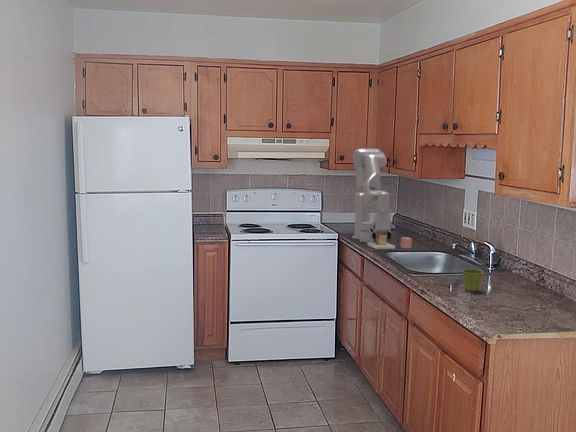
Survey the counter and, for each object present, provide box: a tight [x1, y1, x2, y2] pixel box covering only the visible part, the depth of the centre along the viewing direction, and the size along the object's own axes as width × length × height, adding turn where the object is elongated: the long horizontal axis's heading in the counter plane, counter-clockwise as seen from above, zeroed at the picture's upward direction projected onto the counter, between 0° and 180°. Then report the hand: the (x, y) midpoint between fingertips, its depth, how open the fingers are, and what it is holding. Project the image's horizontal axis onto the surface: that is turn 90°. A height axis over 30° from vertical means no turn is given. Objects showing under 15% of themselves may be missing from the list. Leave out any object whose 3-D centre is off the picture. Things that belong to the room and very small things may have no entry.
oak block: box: [375, 233, 388, 245], centre depth 382 cm, size 5×5×6 cm
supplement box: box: [359, 221, 375, 244], centre depth 398 cm, size 7×7×13 cm
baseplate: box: [366, 241, 396, 250], centre depth 382 cm, size 14×13×2 cm
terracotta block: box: [400, 237, 413, 249], centre depth 381 cm, size 5×5×6 cm
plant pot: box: [461, 268, 484, 292], centre depth 278 cm, size 9×9×9 cm
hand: (381, 239), depth 382 cm, fingers open, 9 cm apart
